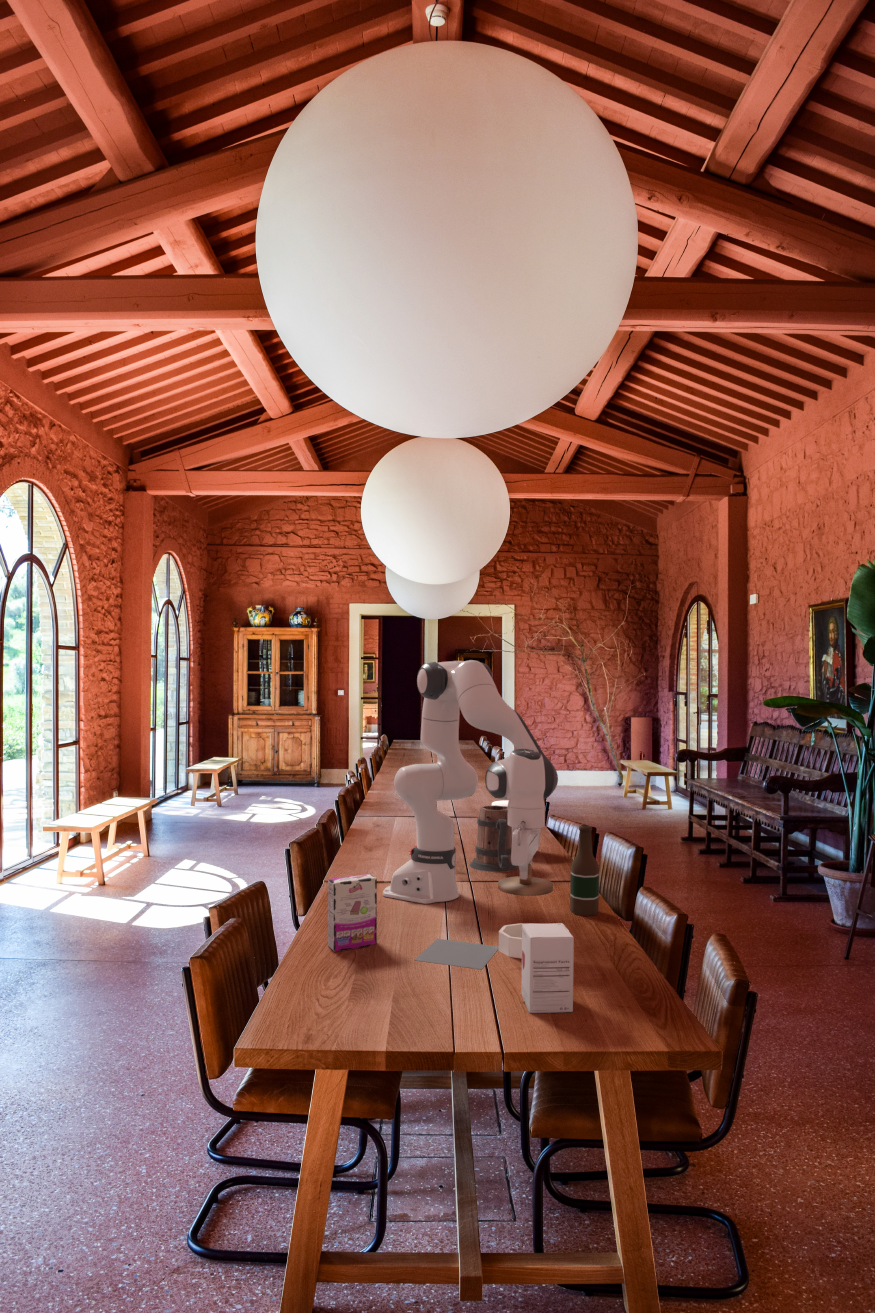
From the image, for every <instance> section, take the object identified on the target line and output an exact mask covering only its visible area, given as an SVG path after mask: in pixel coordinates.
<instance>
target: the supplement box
mask: <svg viewBox="0 0 875 1313" xmlns="http://www.w3.org/2000/svg"><path fill="white" fill-rule="evenodd" d="M574 939H575V938H574V936H573V934H571V932H570V930H569V929H568V928H567V926H566V925H565V924H564V923H562V922H558V923H557V922H556V923H554V922H553V923H531V922H529V923H524V924H522V959H521V996H522V999H523V1000H524V1001H523V1002H524V1003H525V1006H526V1009H527V1010H528V1013H529V1014H545V1013H546V1014H547V1013H549V1014H551V1013H556V1014H557V1013H573V1011H574V957H575V955H574V954H575V953H574V948H575V943H574Z"/></svg>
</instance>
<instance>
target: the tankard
mask: <svg viewBox="0 0 875 1313" xmlns="http://www.w3.org/2000/svg"><path fill="white" fill-rule="evenodd" d="M476 819H477V822H476V824H477V831H476V833H477V834H476V845H475V849H474V850H475V857H474V858H473V859H472V861H471V863H470V864H469V867H470V868H471V869H474V870H477V871H482V872H489V873H490V872H491V873H503V872H504V873H506V872H512V871H517V869H519V866H516V865H512V862H511V853H512V827H510V826H508V807H507V806H491V805H485V806H480V807H479V811H478V817H477V818H476Z"/></svg>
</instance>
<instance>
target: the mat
mask: <svg viewBox="0 0 875 1313" xmlns="http://www.w3.org/2000/svg"><path fill="white" fill-rule="evenodd" d="M498 951H499V945H498V946H497V945H491V944H490V945H488V944H481V943H473V942H466V941H458V940H451V939H450V940H449V939H443V938H436V939H435V940H434V941H433V942H432V943H431V944H429V946H428V947H427V948H425V949H424V950H423V951H422V952H421V953H420V954H419V955H417V957H416V958H414V961H417V962H424V963H431V964H438V965H445V966H454V967H460V968H465V969H466V968H467V969H473V970H474V969H475V970H483V969H484V967H485V966H487V964H488V963H489V962H490V960H491V959H493V956H495V954H496V953H497V952H498Z"/></svg>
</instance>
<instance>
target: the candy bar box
mask: <svg viewBox="0 0 875 1313" xmlns="http://www.w3.org/2000/svg"><path fill="white" fill-rule="evenodd" d="M377 887H378V882H377V877H376V876H374V875H372V874H370V873H367V874H357V875H351V876H350V875H349V876H342V877H334V878H328V879H327V947H328V948H329V949H330V950H332V952H334V953H337V952H345V951H350V950H356V949H362V948H368V947H370V946H371V945H375V944H378V943H377V940H378V938H377V936H378V933H377V932H378V930H377V929H378V926H377V923H378V920H377V918H378V914H377V913H378V912H377V906H378V905H377V904H378V903H377V902H378V901H377V900H378V899H377V897H378V894H377V893H378V888H377Z"/></svg>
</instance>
